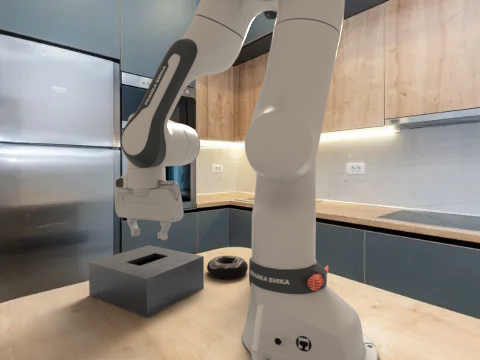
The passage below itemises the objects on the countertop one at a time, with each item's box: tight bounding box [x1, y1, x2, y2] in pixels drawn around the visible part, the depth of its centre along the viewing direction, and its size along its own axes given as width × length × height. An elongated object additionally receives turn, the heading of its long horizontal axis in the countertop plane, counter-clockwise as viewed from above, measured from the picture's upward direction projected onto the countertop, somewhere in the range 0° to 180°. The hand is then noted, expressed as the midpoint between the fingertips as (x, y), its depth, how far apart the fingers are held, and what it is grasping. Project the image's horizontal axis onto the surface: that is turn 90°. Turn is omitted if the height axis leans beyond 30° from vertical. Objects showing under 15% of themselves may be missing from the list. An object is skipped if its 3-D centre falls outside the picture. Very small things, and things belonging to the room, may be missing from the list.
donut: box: [206, 255, 249, 280], centre depth 86 cm, size 12×12×4 cm
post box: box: [88, 244, 205, 319], centre depth 73 cm, size 20×18×8 cm
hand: (148, 237), depth 72 cm, fingers open, 8 cm apart
